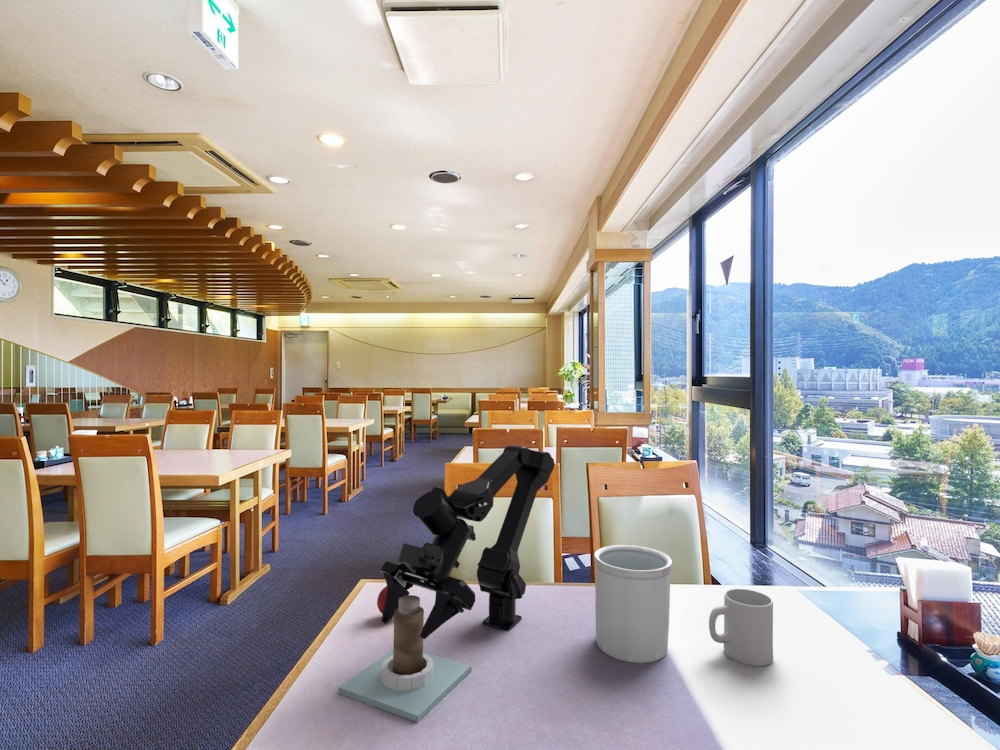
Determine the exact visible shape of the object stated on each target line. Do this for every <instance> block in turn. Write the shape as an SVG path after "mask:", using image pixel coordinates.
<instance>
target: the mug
mask: <svg viewBox="0 0 1000 750" xmlns="http://www.w3.org/2000/svg"><path fill="white" fill-rule="evenodd" d="M723 598H724V599H723V600H724V601H723V602H724V604H723V605H719V606H716V607H714V608H712V610H711V611H710V614H709V617H708V628H709V634H710V637H711V639H712V640H713V641H714V642H716V643H717V644H718V643H719V644H723V651H724V653H725V655H726V657H728V658H729V659H730V660H733V662H734V661H735V663H739V664H742V665H746V666H749V667H750V666H751V667H766V666H769V665H771V664H772V662H773V660H774V644H773V643H774V635H773V634H774V618H773V617H774V601H773V599H772V598H771V597H770V596H768V595H767V594H765V593H763V592H759V591H756V590H752V589H745V588H733V589H732V588H731V589H729V590H726V591H725V592H724V596H723ZM722 615H723V616H724V617H723V622H724V623H723V627H724V628H723V633H717V631H716V622H717V619H718V617H719V616H722Z"/></svg>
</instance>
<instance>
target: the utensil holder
mask: <svg viewBox="0 0 1000 750" xmlns="http://www.w3.org/2000/svg"><path fill="white" fill-rule="evenodd" d="M593 554H594V555H593V560H594V561H593V562H594V564H595V570H594V571H595V573H594V574H595V590H594V591H595V639H596V640H595V641H596V644H597V647H598V648H599V649H600V650H601V651H602V652H603V653H604V654H606V655H608V656H610V657H612V658H615V659H617V660H619V661H623V662H627V663H635V664H636V663H637V664H638V663H639V664H645V663H647V664H648V663H653V662H657V661H658V660H661V659H663V658H664V657H665V656H666V655H667V653H668V646H669V645H668V644H669V631H670V630H669V629H670V607H671V606H670V604H671V601H670V600H671V598H670V597H671V571H672V570H673V569H672V568H673V560H672V558H671V557H670V556H669V555H667V554H666V553H665V552H662V551H660V550H657V549H654V548H651V547H647V546H642V545H641V546H640V545H632V544H615V545H608V546H603V547H600V548H598V549H596V550H595V552H594V553H593Z"/></svg>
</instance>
